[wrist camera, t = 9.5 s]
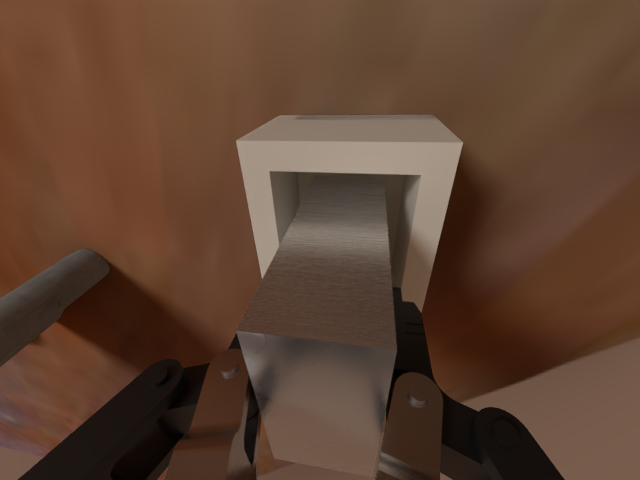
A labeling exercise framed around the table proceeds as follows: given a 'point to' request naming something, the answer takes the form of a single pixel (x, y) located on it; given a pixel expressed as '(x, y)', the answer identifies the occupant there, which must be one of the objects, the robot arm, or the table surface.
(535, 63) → the table surface
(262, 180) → the hollow off-white angular block
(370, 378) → the tall brushed metal block
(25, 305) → the hip flask
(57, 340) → the table surface
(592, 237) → the table surface
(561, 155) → the table surface
